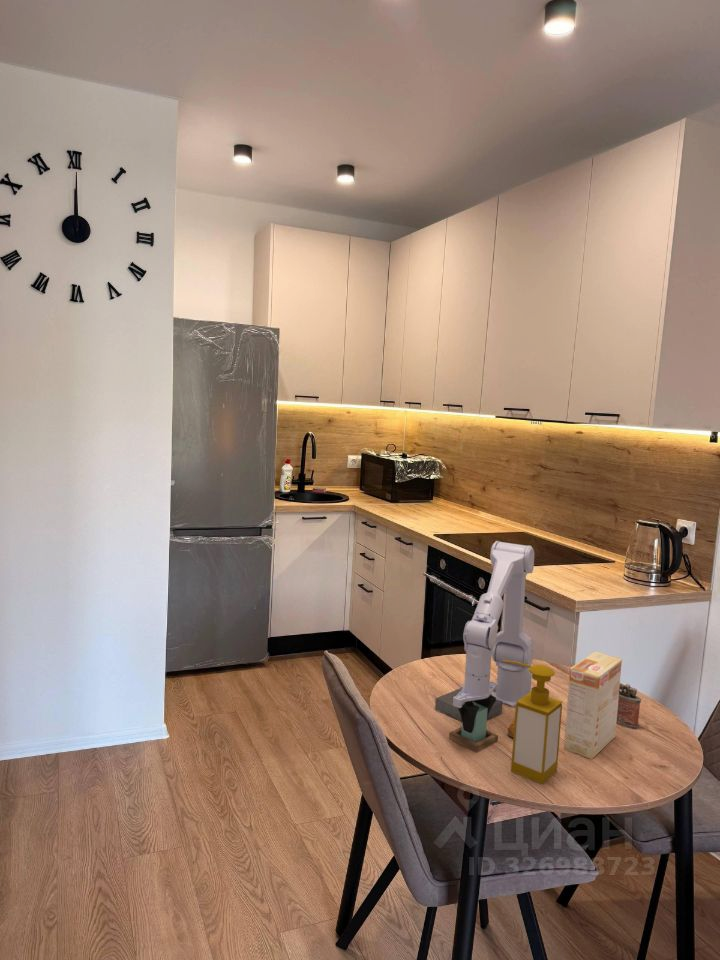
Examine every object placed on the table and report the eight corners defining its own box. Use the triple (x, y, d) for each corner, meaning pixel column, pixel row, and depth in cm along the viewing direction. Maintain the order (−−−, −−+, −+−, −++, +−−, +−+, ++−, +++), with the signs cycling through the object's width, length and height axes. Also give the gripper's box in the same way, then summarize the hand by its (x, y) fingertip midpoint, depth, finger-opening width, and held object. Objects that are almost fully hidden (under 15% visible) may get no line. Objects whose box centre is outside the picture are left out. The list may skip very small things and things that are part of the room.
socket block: (464, 696, 181) (465, 686, 181) (501, 713, 173) (502, 702, 172) (435, 709, 173) (435, 698, 173) (472, 727, 164) (473, 715, 164)
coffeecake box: (587, 726, 167) (594, 650, 165) (616, 737, 163) (623, 658, 161) (561, 748, 156) (568, 667, 154) (592, 760, 151) (599, 676, 149)
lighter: (640, 726, 169) (644, 687, 168) (635, 730, 166) (639, 691, 165) (608, 715, 174) (612, 677, 173) (603, 719, 172) (606, 681, 171)
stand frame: (470, 728, 164) (470, 722, 164) (497, 741, 158) (498, 735, 158) (448, 738, 158) (449, 732, 158) (476, 752, 153) (476, 746, 152)
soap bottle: (503, 749, 154) (510, 649, 152) (556, 770, 146) (565, 665, 144) (488, 761, 149) (495, 658, 146) (542, 784, 141) (551, 675, 138)
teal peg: (471, 734, 161) (473, 702, 160) (485, 740, 158) (487, 708, 157) (461, 739, 158) (463, 706, 157) (474, 746, 155) (477, 712, 154)
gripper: (482, 659, 164) (479, 713, 166) (443, 674, 154) (440, 730, 156) (507, 668, 159) (503, 723, 161) (468, 684, 149) (464, 742, 151)
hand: (473, 728), depth 158 cm, fingers closed on teal peg, 4 cm apart
